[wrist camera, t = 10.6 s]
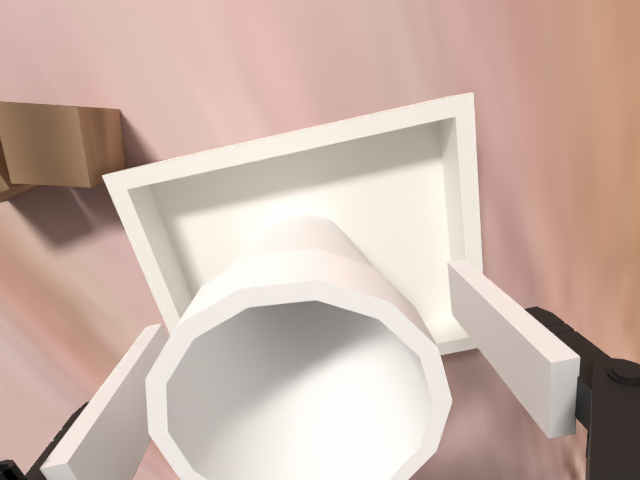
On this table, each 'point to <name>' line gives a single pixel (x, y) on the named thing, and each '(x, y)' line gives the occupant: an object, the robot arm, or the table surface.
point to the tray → (318, 204)
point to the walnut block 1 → (3, 188)
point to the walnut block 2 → (61, 144)
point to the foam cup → (298, 368)
